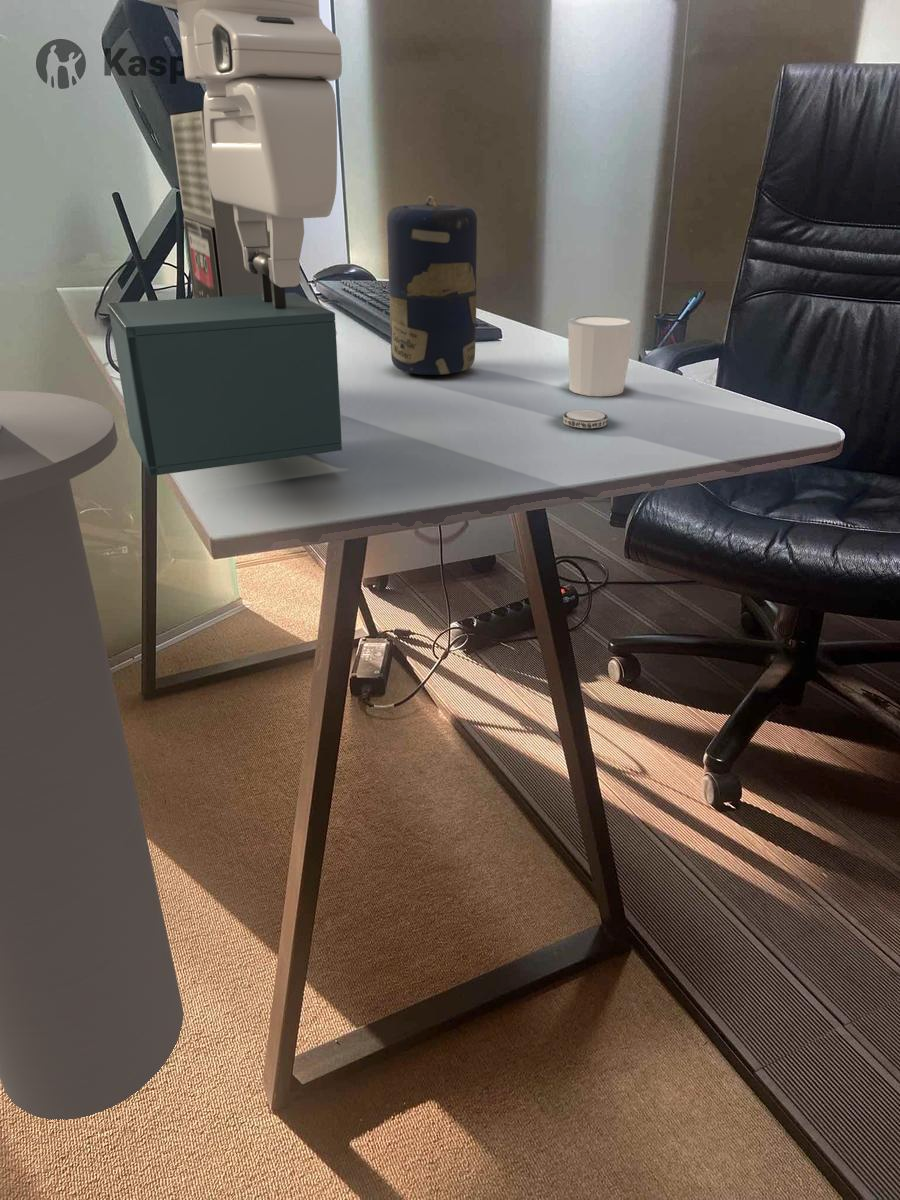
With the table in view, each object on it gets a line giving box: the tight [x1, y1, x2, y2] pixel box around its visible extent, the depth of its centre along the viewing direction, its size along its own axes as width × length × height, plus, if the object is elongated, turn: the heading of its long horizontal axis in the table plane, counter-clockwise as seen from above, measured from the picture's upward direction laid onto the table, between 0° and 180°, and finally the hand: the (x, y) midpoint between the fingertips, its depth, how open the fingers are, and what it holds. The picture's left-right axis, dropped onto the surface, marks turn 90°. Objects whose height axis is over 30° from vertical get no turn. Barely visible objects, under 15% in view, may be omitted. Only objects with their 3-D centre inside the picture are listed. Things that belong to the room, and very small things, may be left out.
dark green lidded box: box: [107, 253, 343, 477], centre depth 63 cm, size 14×10×13 cm
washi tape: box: [562, 409, 608, 429], centre depth 79 cm, size 4×4×1 cm
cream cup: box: [567, 315, 637, 397], centre depth 88 cm, size 7×7×7 cm
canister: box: [386, 195, 478, 376], centre depth 93 cm, size 10×10×18 cm
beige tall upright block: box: [170, 107, 270, 298], centre depth 78 cm, size 14×6×25 cm, turn 26°
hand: (271, 279), depth 62 cm, fingers closed on dark green lidded box, 6 cm apart
